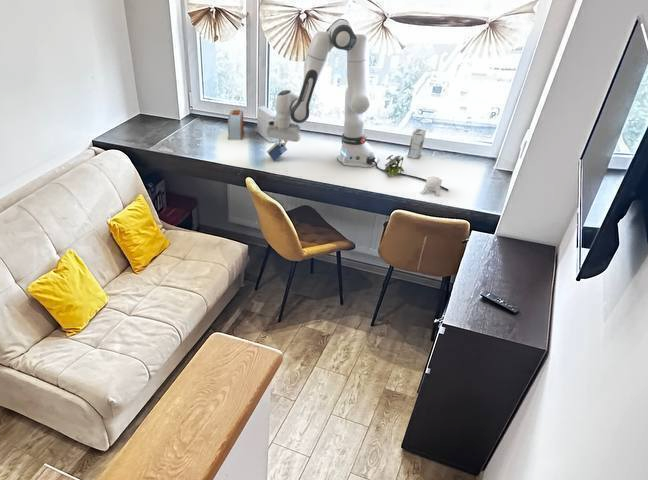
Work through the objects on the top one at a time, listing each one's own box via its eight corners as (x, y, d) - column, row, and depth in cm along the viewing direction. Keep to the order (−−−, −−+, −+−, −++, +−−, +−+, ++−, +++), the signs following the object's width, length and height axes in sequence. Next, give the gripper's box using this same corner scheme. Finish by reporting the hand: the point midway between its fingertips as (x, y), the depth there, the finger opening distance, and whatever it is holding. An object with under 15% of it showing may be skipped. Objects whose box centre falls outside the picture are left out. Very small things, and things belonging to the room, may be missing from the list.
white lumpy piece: (422, 192, 285) (420, 193, 272) (426, 175, 281) (424, 176, 269) (439, 194, 282) (437, 196, 269) (444, 177, 279) (442, 178, 266)
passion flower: (386, 180, 302) (389, 158, 301) (405, 180, 297) (409, 157, 295) (380, 175, 293) (383, 152, 291) (400, 175, 287) (404, 152, 286)
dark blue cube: (287, 149, 315) (279, 139, 314) (282, 154, 310) (274, 144, 309) (279, 156, 320) (272, 147, 319) (274, 161, 316) (266, 151, 314)
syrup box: (411, 153, 314) (416, 128, 304) (421, 155, 311) (426, 130, 301) (407, 157, 311) (412, 131, 301) (417, 159, 308) (422, 133, 298)
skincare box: (278, 141, 337) (278, 115, 326) (270, 143, 336) (270, 116, 325) (264, 130, 352) (264, 105, 341) (256, 132, 350) (256, 106, 339)
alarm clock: (231, 130, 354) (230, 109, 345) (244, 130, 353) (243, 109, 344) (228, 139, 344) (227, 117, 334) (241, 139, 342) (240, 117, 333)
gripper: (302, 122, 300) (301, 147, 309) (269, 117, 308) (269, 142, 317) (298, 126, 296) (297, 151, 305) (265, 121, 304) (264, 146, 313)
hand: (282, 146), depth 311 cm, fingers closed
